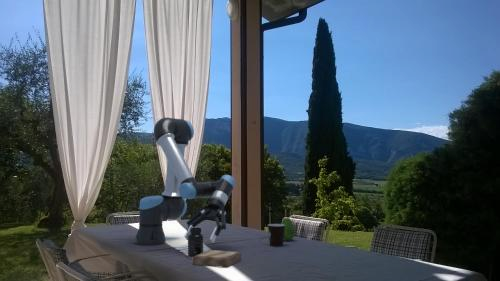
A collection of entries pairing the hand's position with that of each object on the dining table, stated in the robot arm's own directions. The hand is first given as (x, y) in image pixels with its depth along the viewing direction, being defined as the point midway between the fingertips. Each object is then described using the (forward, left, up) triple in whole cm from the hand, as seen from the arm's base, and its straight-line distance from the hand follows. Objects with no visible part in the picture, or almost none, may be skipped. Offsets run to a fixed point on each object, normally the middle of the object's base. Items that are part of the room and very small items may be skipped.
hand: (198, 239), depth 191 cm
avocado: (+27, +53, -7) cm, 59 cm away
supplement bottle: (-1, 0, -7) cm, 7 cm away
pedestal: (+13, -8, -7) cm, 17 cm away
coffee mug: (+25, +39, -7) cm, 46 cm away
